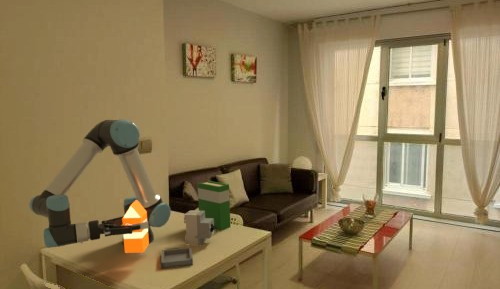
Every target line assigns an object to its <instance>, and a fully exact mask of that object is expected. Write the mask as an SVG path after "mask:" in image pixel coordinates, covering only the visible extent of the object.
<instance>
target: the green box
mask: <svg viewBox="0 0 500 289" xmlns="http://www.w3.org/2000/svg"><path fill="white" fill-rule="evenodd" d="M197 199H198V200H197V202H198V204H197V205H198V211H205V218H214V226H216V228H215V229H214V230H217V231H220V232H222V231H224V230H227V229H229V228H231V206H230V204H231V203H230V184H229V183H223V182H217V181H212V180H206V181H205V182H197Z"/></svg>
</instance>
